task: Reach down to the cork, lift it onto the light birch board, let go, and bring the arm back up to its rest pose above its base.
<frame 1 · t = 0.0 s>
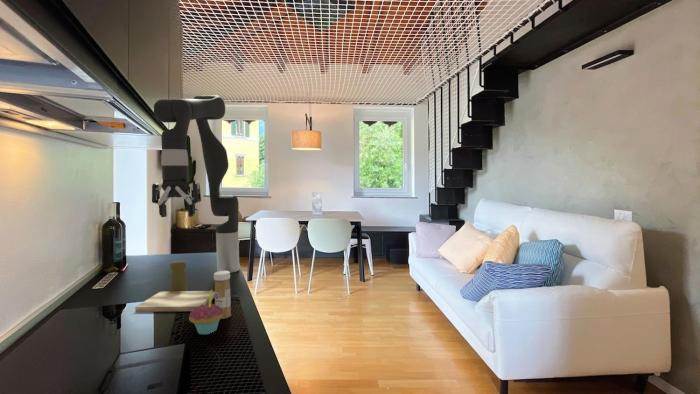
hand: (177, 216, 115), 29 cm above the kitchen counter, tool pointing down, fingers open, 8 cm apart
cupcake: (206, 331, 100), on the kitchen counter
birch board: (178, 302, 122), on the kitchen counter
cork: (179, 291, 135), on the kitchen counter
sprinkles bottle: (223, 317, 110), on the kitchen counter
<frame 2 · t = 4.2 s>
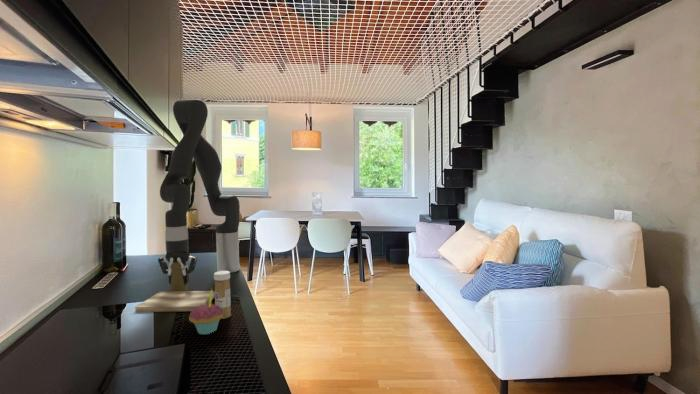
hand: (178, 284, 135), 2 cm above the kitchen counter, tool pointing down, fingers closed on cork, 4 cm apart
cork: (179, 291, 135), on the kitchen counter, touching gripper
everything else where it was.
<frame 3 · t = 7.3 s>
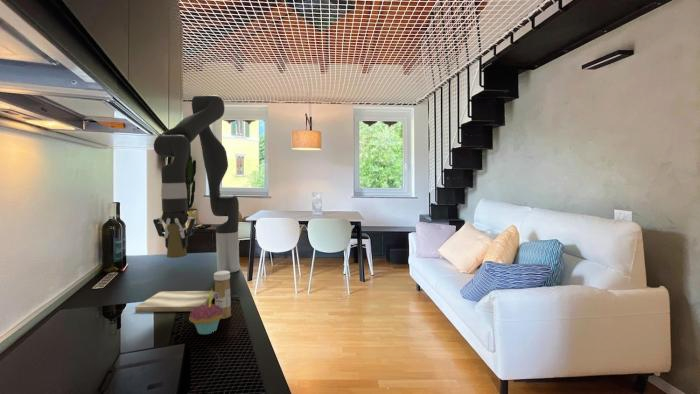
hand: (176, 248, 121), 18 cm above the kitchen counter, tool pointing down, fingers closed on cork, 4 cm apart
cork: (177, 256, 121), point 16 cm above the kitchen counter, touching gripper
everything else where it was.
when the fingers open (5 cm above the kitchen counter, at t = 10.4 s): cork stays where it is, resting on birch board.
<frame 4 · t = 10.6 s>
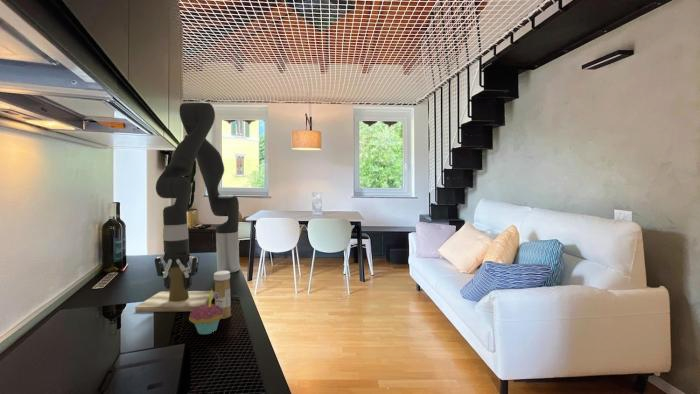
hand: (178, 288, 122), 5 cm above the kitchen counter, tool pointing down, fingers open, 6 cm apart
cork: (179, 298, 122), point 1 cm above the kitchen counter, touching birch board
everything else where it was.
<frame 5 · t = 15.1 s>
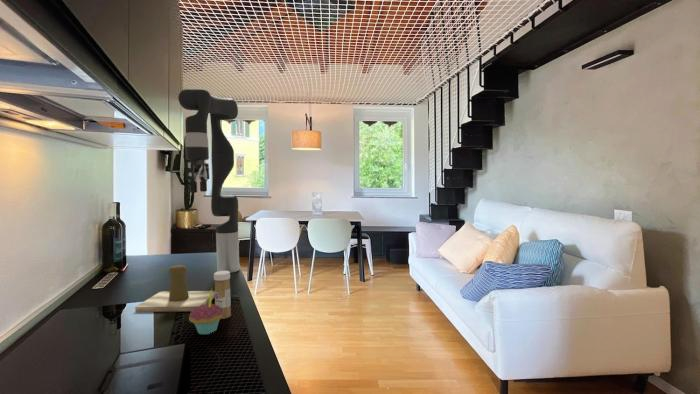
hand: (198, 192, 131), 36 cm above the kitchen counter, tool pointing down, fingers open, 8 cm apart
nothing on the kitchen counter moved.
at the end: cork inside the target area on the birch board (0.1 cm from its centre), point 1.3 cm above the birch board's base; cork tilted 0°; the gripper is holding nothing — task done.
